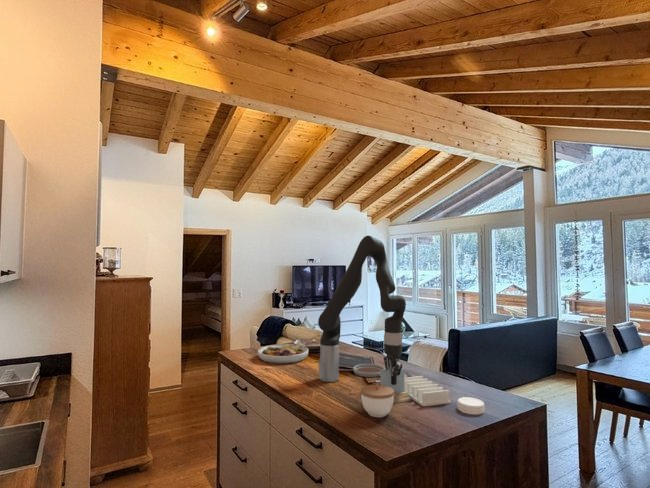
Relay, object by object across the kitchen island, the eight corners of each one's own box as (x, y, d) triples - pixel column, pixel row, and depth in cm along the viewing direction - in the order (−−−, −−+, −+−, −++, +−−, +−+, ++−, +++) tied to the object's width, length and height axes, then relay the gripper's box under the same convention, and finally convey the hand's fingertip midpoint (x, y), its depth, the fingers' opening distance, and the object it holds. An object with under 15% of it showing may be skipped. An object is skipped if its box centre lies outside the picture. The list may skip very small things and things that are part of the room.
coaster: (460, 403, 160) (460, 395, 160) (486, 408, 154) (486, 399, 155) (455, 412, 151) (454, 402, 151) (482, 417, 146) (482, 407, 146)
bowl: (254, 354, 241) (254, 341, 241) (301, 350, 250) (301, 338, 250) (261, 367, 212) (261, 352, 212) (314, 362, 221) (314, 348, 221)
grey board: (382, 395, 161) (382, 371, 162) (380, 393, 163) (380, 369, 164) (404, 393, 164) (404, 369, 165) (401, 391, 166) (402, 368, 167)
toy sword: (382, 381, 181) (346, 366, 204) (382, 387, 181) (346, 371, 204) (408, 375, 191) (370, 361, 214) (408, 381, 191) (370, 366, 214)
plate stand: (384, 404, 158) (384, 396, 158) (376, 397, 166) (376, 390, 166) (411, 400, 162) (410, 393, 162) (401, 394, 169) (401, 387, 170)
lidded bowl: (372, 404, 157) (372, 377, 158) (400, 412, 149) (399, 383, 150) (354, 414, 148) (354, 385, 148) (383, 423, 140) (383, 392, 140)
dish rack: (422, 406, 156) (422, 393, 156) (397, 389, 176) (397, 377, 177) (450, 403, 160) (450, 390, 160) (422, 386, 180) (422, 375, 180)
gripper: (378, 339, 170) (377, 379, 170) (392, 346, 157) (391, 389, 156) (393, 338, 172) (393, 378, 172) (408, 345, 159) (408, 388, 158)
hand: (392, 383), depth 164 cm, fingers closed on grey board, 2 cm apart
